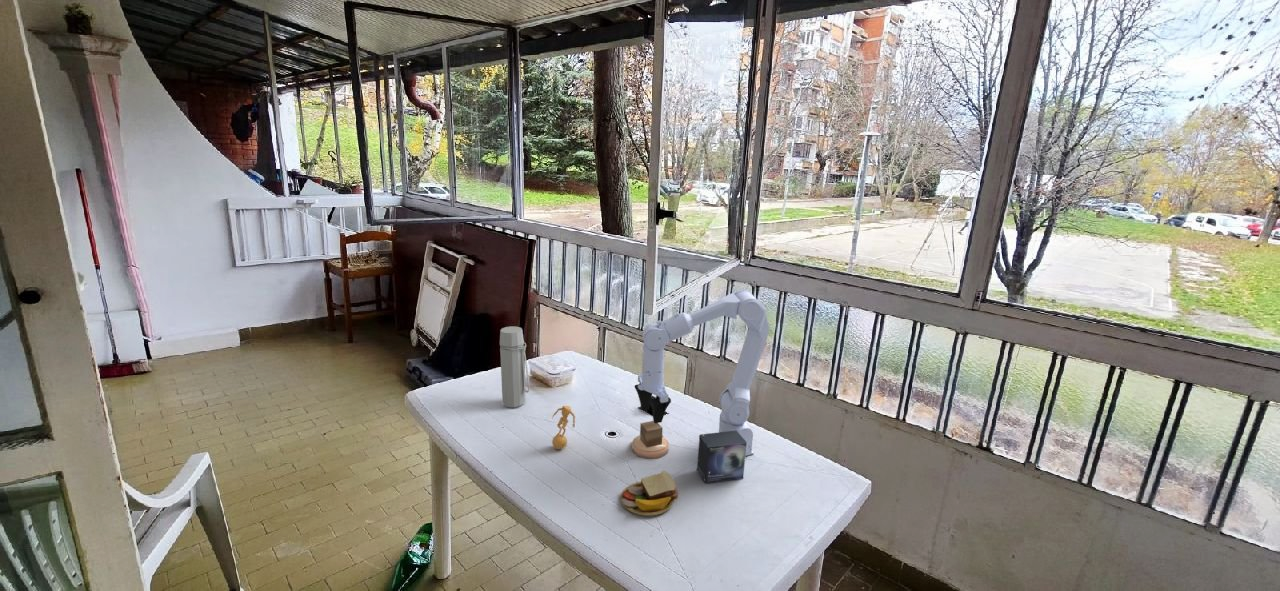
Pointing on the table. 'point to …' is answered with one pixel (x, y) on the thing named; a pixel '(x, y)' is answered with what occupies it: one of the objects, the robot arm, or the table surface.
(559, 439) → the figurine
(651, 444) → the walnut block
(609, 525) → the table surface
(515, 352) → the water bottle
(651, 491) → the toy sandwich meal
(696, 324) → the robot arm
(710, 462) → the small box
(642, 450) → the pedestal
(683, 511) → the table surface
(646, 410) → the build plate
